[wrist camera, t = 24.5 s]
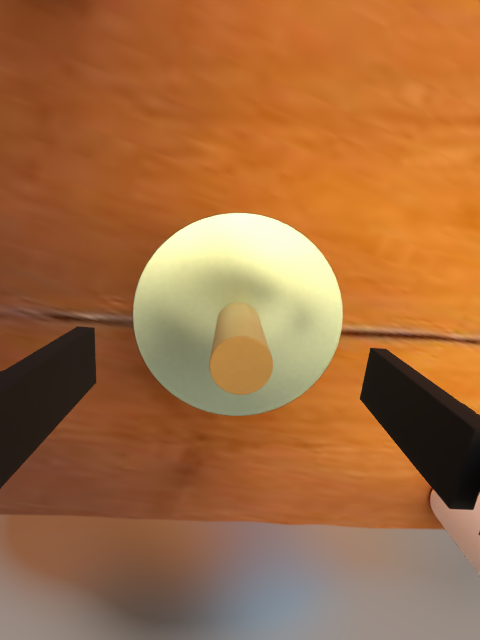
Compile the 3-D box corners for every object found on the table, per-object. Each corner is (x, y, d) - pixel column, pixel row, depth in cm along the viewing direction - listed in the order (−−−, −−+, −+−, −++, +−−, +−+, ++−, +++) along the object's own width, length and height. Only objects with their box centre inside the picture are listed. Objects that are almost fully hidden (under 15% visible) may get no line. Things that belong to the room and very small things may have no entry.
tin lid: (136, 401, 24) (87, 487, 16) (137, 203, 21) (73, 181, 12) (321, 414, 25) (364, 502, 17) (354, 224, 21) (432, 216, 13)
